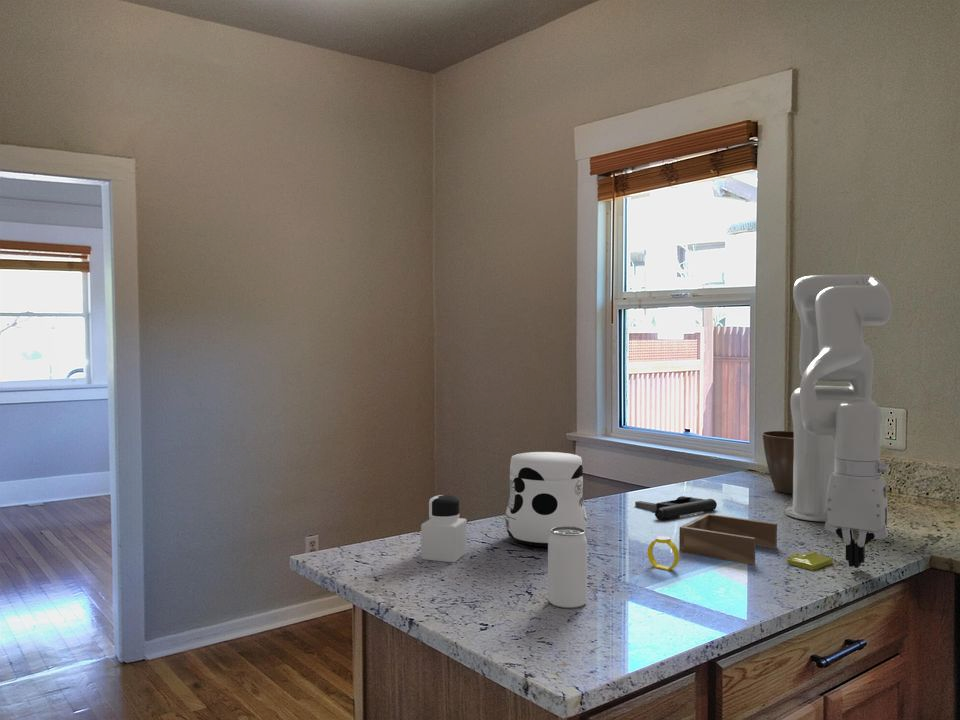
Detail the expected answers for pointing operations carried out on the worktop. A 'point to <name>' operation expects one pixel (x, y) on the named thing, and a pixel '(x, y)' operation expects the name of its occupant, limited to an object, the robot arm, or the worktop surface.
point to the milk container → (544, 496)
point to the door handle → (678, 507)
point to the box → (726, 537)
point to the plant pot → (780, 458)
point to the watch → (676, 553)
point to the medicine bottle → (444, 531)
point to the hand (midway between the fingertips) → (854, 565)
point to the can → (567, 567)
